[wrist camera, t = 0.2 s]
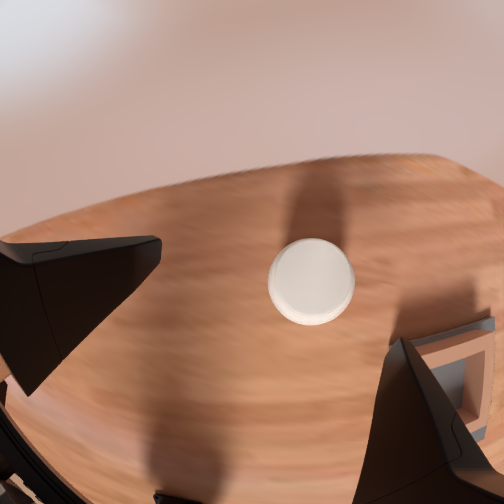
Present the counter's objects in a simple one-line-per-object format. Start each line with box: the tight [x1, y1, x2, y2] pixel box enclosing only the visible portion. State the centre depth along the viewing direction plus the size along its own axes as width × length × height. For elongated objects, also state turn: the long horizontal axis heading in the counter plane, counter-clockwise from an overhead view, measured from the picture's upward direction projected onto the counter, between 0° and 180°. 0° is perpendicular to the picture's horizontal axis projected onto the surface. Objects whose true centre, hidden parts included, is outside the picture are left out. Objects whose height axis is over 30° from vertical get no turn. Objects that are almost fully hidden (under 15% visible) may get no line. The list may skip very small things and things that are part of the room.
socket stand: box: [389, 317, 495, 443], centre depth 16 cm, size 14×12×4 cm
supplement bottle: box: [268, 238, 355, 325], centre depth 18 cm, size 5×5×10 cm
